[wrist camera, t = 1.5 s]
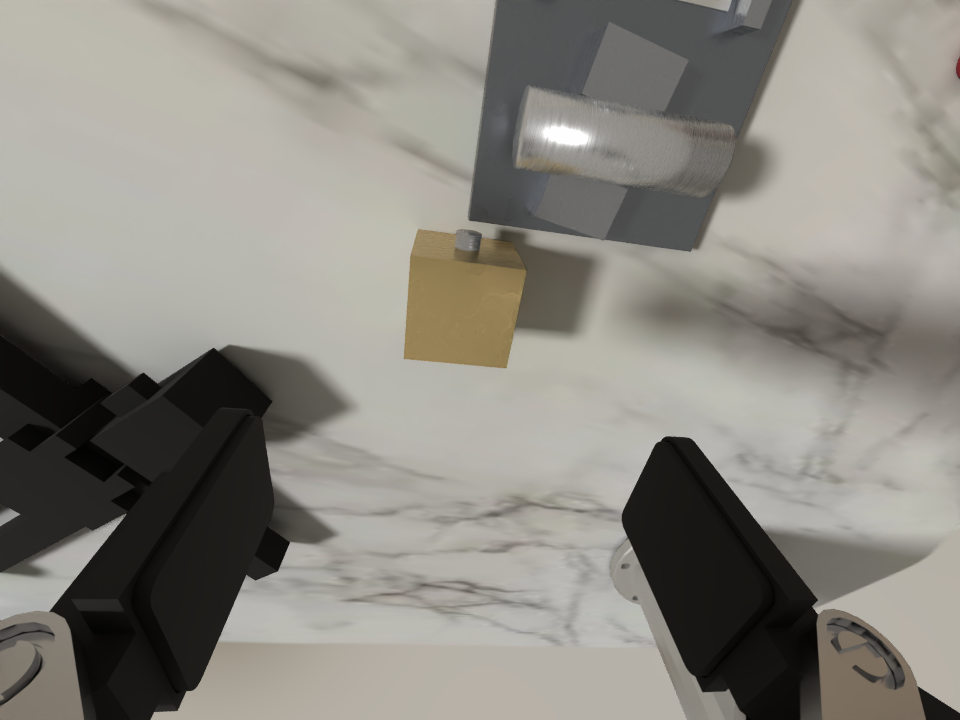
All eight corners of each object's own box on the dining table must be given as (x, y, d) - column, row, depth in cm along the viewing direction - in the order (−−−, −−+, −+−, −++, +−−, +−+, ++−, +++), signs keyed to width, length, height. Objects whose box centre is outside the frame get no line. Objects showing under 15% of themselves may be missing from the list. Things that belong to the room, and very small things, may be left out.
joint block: (513, 228, 21) (530, 254, 17) (493, 335, 25) (503, 380, 20) (419, 215, 21) (411, 238, 16) (410, 327, 24) (402, 371, 20)
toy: (-496, 475, 20) (-259, 106, 12) (-309, 404, 25) (-51, 107, 17) (64, 680, 33) (355, 568, 25) (116, 608, 38) (374, 494, 30)
